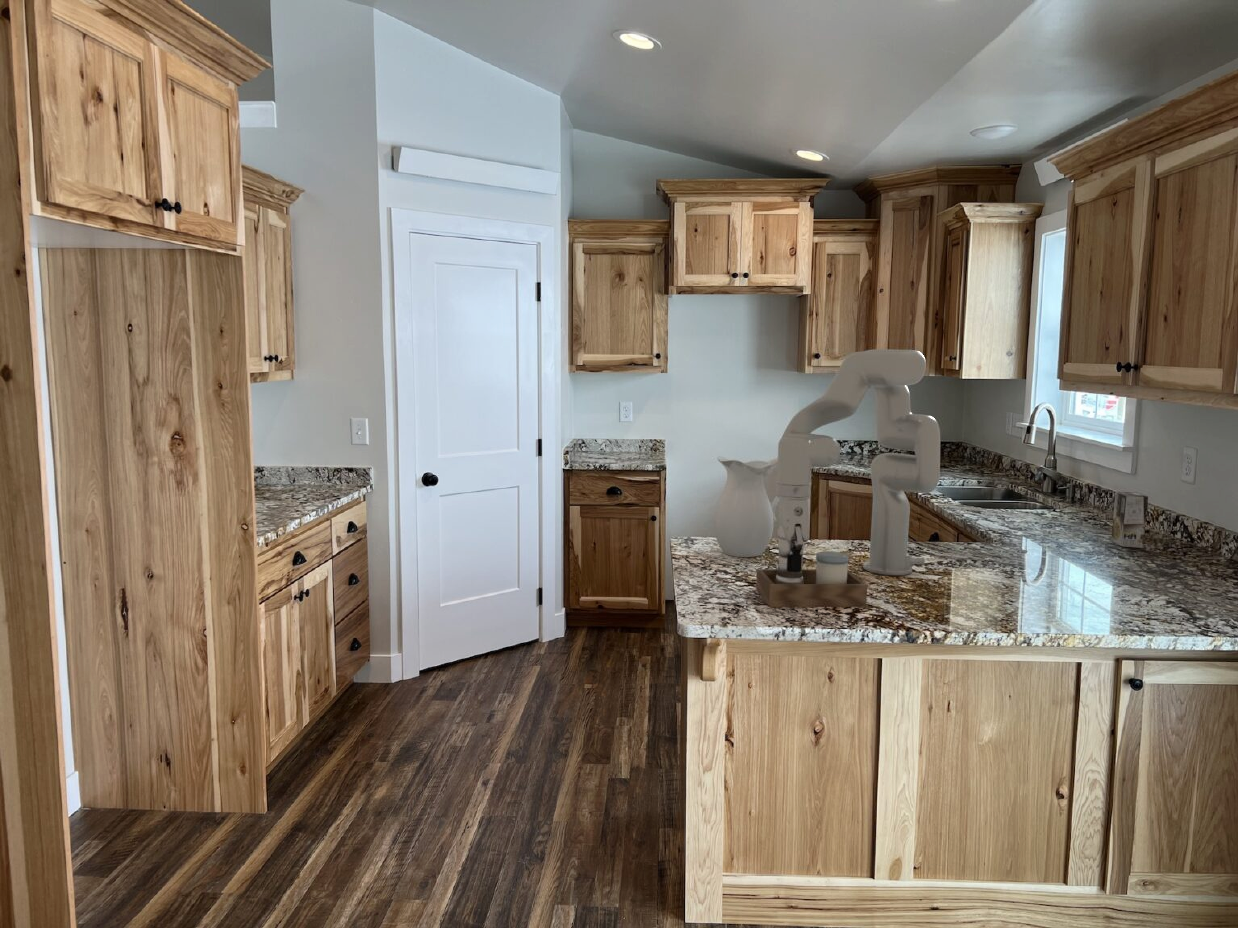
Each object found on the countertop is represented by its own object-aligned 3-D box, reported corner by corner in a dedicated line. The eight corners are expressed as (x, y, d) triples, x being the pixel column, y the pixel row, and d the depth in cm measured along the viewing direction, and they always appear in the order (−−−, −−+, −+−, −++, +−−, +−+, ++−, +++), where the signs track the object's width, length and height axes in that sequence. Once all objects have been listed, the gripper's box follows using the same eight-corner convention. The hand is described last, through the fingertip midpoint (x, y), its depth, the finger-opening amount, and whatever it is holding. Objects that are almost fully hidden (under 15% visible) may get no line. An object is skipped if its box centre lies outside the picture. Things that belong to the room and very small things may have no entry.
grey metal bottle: (782, 589, 201) (785, 507, 198) (808, 595, 196) (812, 510, 194) (769, 595, 196) (772, 511, 193) (795, 601, 192) (799, 514, 189)
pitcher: (726, 561, 234) (729, 461, 230) (704, 547, 250) (707, 454, 246) (804, 557, 240) (809, 460, 236) (778, 544, 256) (781, 453, 252)
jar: (840, 593, 201) (842, 551, 199) (851, 602, 193) (853, 558, 192) (810, 593, 200) (812, 551, 199) (819, 602, 193) (821, 558, 191)
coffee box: (1144, 548, 259) (1149, 496, 257) (1121, 546, 260) (1126, 495, 258) (1132, 541, 268) (1137, 491, 266) (1110, 540, 269) (1115, 490, 267)
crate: (845, 593, 204) (846, 569, 203) (866, 610, 190) (867, 585, 189) (755, 593, 203) (756, 569, 202) (770, 611, 189) (771, 585, 188)
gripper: (820, 497, 184) (817, 577, 187) (798, 484, 201) (795, 558, 204) (786, 497, 184) (783, 578, 186) (767, 484, 201) (765, 558, 203)
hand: (790, 567), depth 195 cm, fingers closed on grey metal bottle, 5 cm apart
